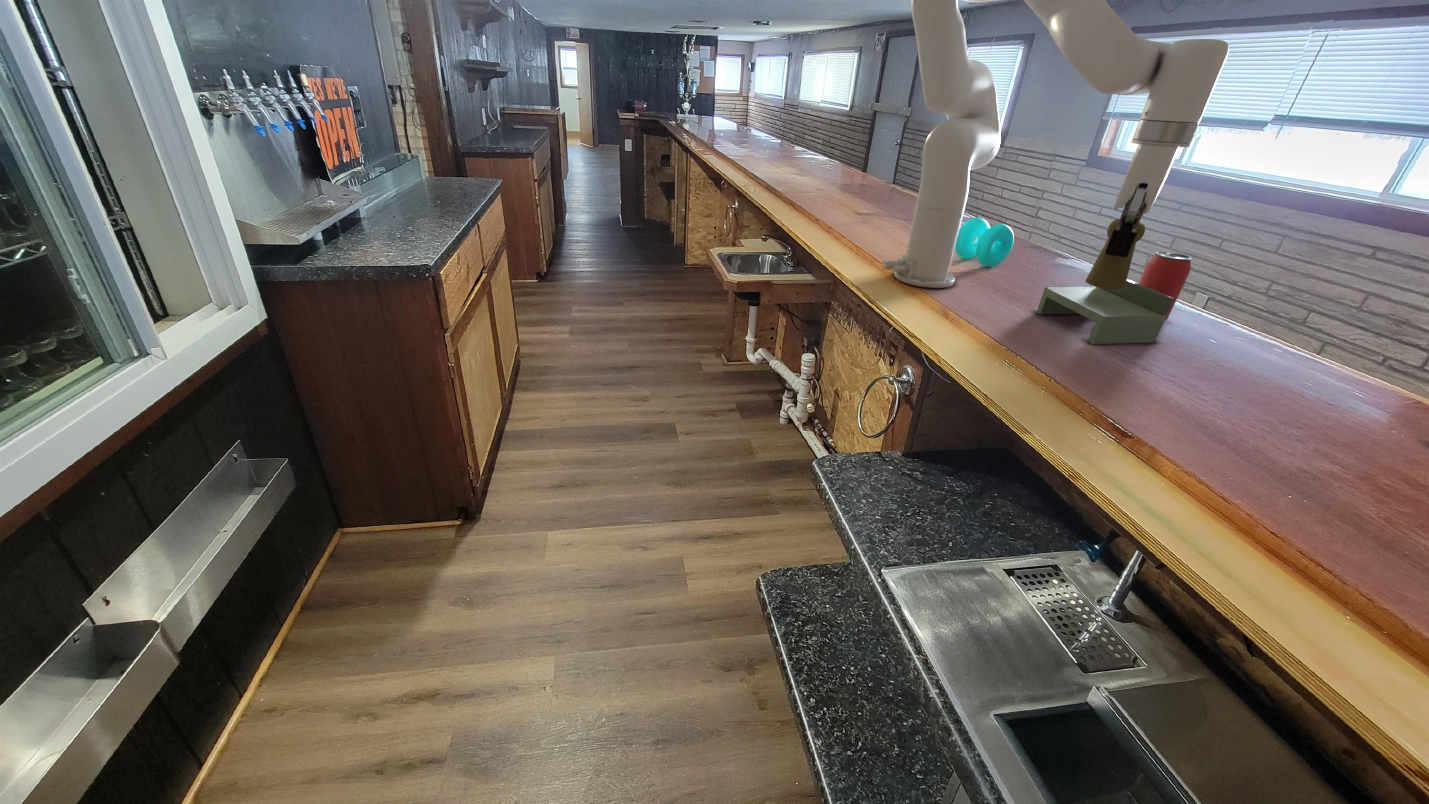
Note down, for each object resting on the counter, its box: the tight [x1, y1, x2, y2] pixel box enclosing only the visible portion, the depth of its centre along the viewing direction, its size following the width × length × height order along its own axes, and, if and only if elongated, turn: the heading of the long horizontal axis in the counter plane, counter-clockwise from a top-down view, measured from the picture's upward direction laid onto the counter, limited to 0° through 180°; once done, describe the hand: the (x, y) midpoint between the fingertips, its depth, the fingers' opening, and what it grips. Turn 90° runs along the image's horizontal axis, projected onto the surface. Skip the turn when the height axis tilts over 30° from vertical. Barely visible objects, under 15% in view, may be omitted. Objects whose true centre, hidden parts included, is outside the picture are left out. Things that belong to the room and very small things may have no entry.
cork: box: [1084, 218, 1146, 290], centre depth 96 cm, size 6×6×11 cm
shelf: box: [1036, 278, 1175, 345], centre depth 101 cm, size 12×15×8 cm
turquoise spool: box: [954, 216, 1015, 268], centre depth 135 cm, size 10×10×10 cm
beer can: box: [1138, 250, 1193, 322], centre depth 105 cm, size 7×7×12 cm
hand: (1117, 251), depth 96 cm, fingers closed on cork, 5 cm apart
